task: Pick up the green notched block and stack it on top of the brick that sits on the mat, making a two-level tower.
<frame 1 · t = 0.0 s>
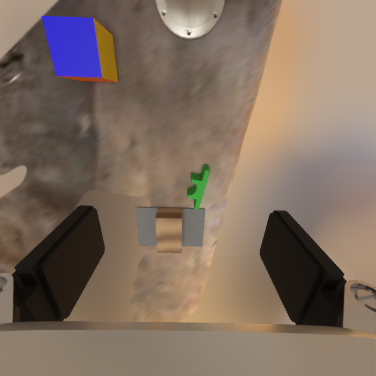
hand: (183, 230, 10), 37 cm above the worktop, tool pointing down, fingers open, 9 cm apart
green notched block: (196, 182, 49), on the worktop
mat: (170, 227, 55), on the worktop
base brick: (170, 225, 54), resting on mat
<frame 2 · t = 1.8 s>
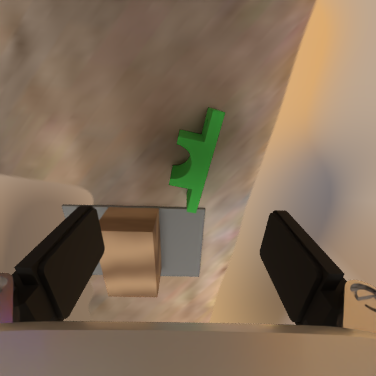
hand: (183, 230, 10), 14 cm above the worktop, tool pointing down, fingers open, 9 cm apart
green notched block: (191, 152, 23), on the worktop
mat: (138, 243, 29), on the worktop
base brick: (137, 240, 28), resting on mat
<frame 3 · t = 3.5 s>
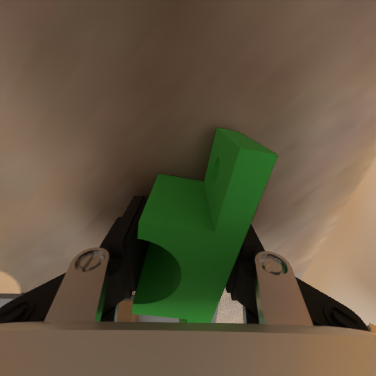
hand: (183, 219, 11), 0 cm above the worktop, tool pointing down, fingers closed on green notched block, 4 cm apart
green notched block: (185, 214, 11), on the worktop, touching gripper
mat: (107, 341, 17), on the worktop
base brick: (104, 341, 17), resting on mat
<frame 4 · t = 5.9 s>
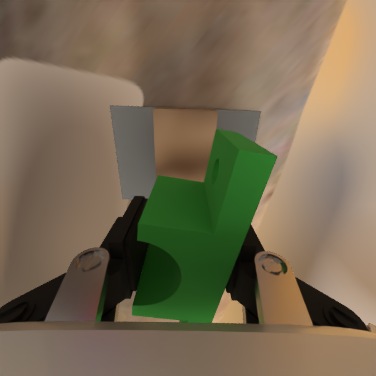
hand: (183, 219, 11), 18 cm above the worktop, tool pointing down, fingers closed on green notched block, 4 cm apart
green notched block: (185, 215, 11), point 17 cm above the worktop, touching gripper
mat: (184, 159, 27), on the worktop
base brick: (184, 153, 26), resting on mat
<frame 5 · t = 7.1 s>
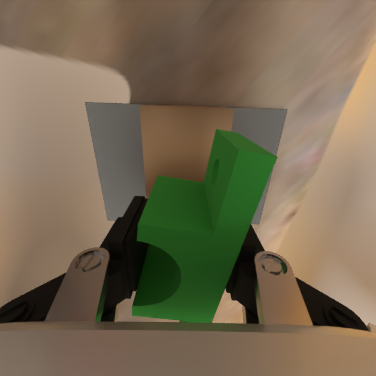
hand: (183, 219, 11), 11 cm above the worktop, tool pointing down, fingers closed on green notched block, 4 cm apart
green notched block: (185, 215, 11), point 10 cm above the worktop, touching gripper
mat: (185, 171, 21), on the worktop
base brick: (185, 164, 20), resting on mat
when the fingers open (6 cm above the worktop, at t = 8.2 s): green notched block stays where it is, resting on base brick.
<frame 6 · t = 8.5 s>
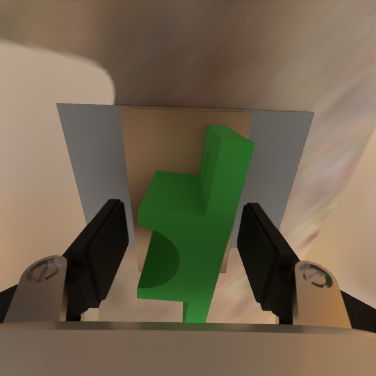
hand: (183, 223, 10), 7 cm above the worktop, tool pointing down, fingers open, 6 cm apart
green notched block: (184, 207, 12), point 5 cm above the worktop, touching base brick
mat: (184, 187, 17), on the worktop
base brick: (184, 179, 17), resting on mat, touching green notched block
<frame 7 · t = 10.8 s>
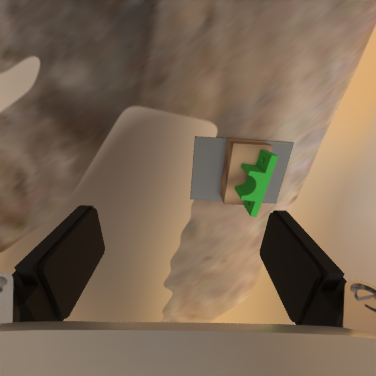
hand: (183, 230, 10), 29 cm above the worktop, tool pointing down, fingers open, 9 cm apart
green notched block: (248, 176, 34), point 5 cm above the worktop, touching base brick
mat: (238, 172, 39), on the worktop
base brick: (239, 168, 38), resting on mat, touching green notched block
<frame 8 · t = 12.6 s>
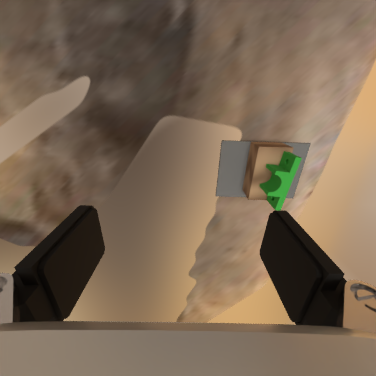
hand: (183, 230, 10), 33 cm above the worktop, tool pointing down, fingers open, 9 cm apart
green notched block: (271, 175, 39), point 5 cm above the worktop, touching base brick
mat: (259, 171, 44), on the worktop
base brick: (260, 167, 43), resting on mat, touching green notched block
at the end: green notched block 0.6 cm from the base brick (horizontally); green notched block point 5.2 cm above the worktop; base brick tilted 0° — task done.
